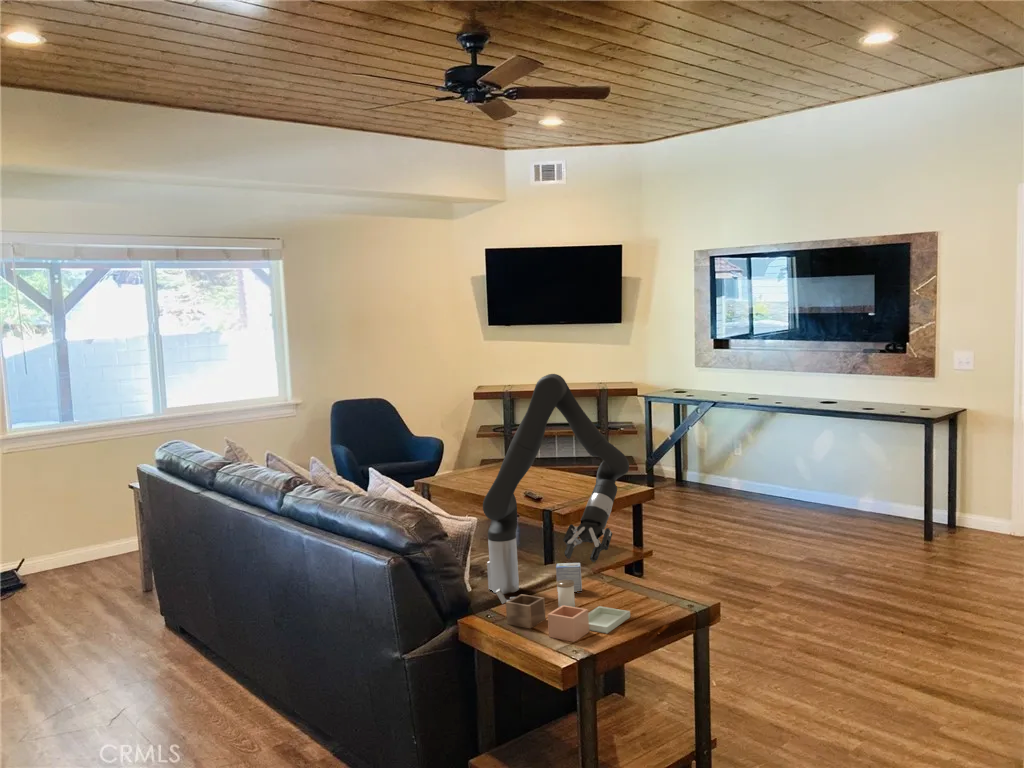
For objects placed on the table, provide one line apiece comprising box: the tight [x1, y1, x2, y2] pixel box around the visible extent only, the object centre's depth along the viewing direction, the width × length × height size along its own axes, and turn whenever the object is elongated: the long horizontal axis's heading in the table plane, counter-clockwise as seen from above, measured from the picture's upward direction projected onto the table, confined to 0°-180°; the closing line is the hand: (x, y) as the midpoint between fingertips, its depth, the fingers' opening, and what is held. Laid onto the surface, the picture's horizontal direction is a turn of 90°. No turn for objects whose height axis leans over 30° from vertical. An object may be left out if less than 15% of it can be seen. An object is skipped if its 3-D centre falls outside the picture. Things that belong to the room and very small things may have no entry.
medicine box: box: [555, 562, 583, 593], centre depth 247 cm, size 8×4×9 cm, turn 84°
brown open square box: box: [505, 593, 546, 629], centre depth 219 cm, size 8×8×7 cm
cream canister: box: [556, 580, 576, 608], centre depth 224 cm, size 5×5×10 cm
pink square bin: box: [547, 605, 590, 643], centre depth 207 cm, size 8×8×7 cm
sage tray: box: [588, 605, 631, 634], centre depth 215 cm, size 10×14×2 cm
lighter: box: [495, 588, 516, 605], centre depth 227 cm, size 7×2×8 cm, turn 88°
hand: (579, 558), depth 222 cm, fingers open, 8 cm apart
